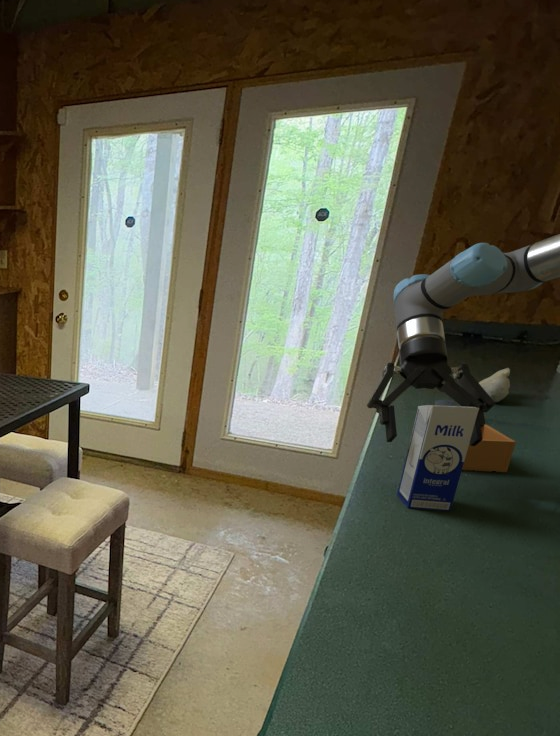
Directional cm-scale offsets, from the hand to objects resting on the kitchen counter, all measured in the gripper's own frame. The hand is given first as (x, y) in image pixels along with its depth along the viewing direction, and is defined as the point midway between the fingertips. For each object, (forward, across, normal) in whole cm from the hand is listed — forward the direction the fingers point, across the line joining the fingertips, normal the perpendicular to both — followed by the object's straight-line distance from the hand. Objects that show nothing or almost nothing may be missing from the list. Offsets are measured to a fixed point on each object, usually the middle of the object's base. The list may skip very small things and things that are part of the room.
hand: (433, 441), depth 116 cm
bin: (-9, -16, -26) cm, 32 cm away
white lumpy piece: (-52, -45, -69) cm, 97 cm away
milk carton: (+10, 0, -7) cm, 12 cm away
